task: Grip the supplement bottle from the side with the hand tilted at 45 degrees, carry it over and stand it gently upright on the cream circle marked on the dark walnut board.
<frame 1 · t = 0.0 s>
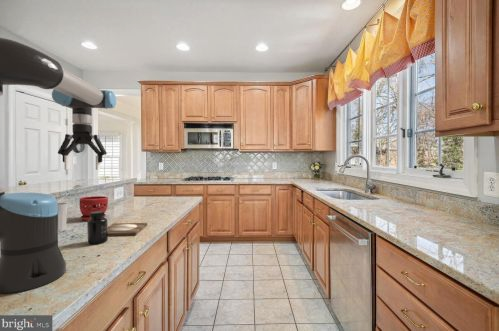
hand: (82, 169, 112), 28 cm above the counter, tool pointing down, fingers open, 13 cm apart
plant pot: (94, 219, 131), on the counter
supplement bottle: (97, 242, 95), on the counter
cup: (57, 230, 111), on the counter
walnut board: (123, 230, 110), on the counter
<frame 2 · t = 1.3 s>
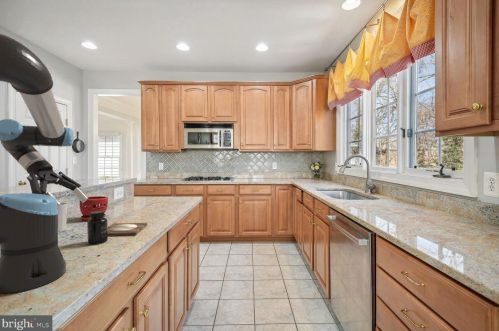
hand: (72, 203, 95), 15 cm above the counter, tool tilted 45°, fingers open, 13 cm apart
nothing on the counter moved.
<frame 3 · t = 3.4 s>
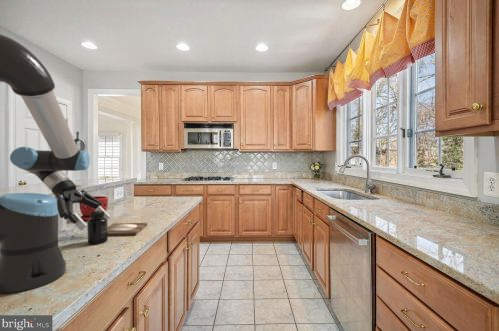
hand: (96, 223, 96), 7 cm above the counter, tool tilted 45°, fingers open, 13 cm apart
nothing on the counter moved.
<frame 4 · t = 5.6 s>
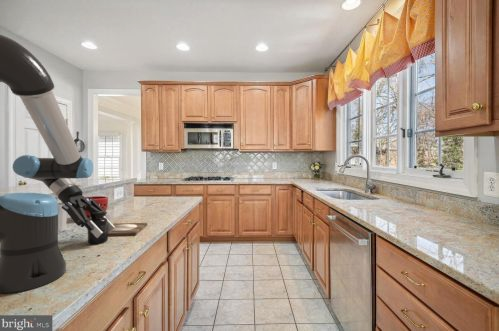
hand: (106, 232, 95), 4 cm above the counter, tool tilted 45°, fingers closed on supplement bottle, 7 cm apart
supplement bottle: (97, 242, 95), on the counter, touching gripper
everything else where it was.
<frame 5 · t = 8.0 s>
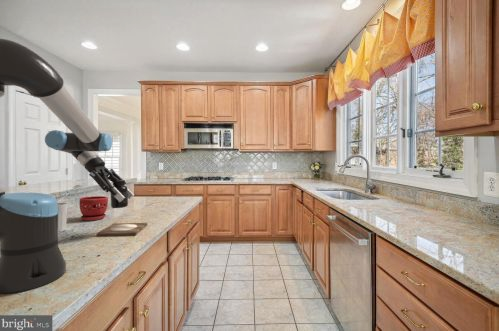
hand: (127, 198, 108), 15 cm above the counter, tool tilted 45°, fingers closed on supplement bottle, 7 cm apart
supplement bottle: (119, 207, 108), point 11 cm above the counter, touching gripper
everything else where it was.
when the fingers open (7 cm above the counter, at t = 10.8 s): supplement bottle drops 1 cm, resting on walnut board.
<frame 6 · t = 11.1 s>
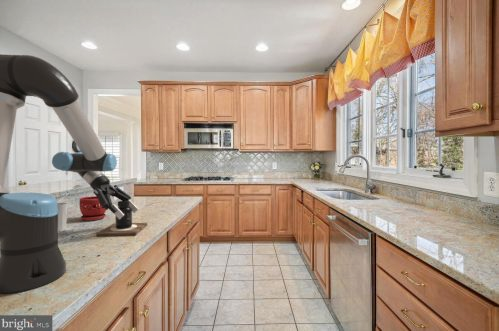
hand: (129, 214, 110), 8 cm above the counter, tool tilted 45°, fingers open, 11 cm apart
supplement bottle: (123, 227, 110), point 1 cm above the counter, touching walnut board
everything else where it was.
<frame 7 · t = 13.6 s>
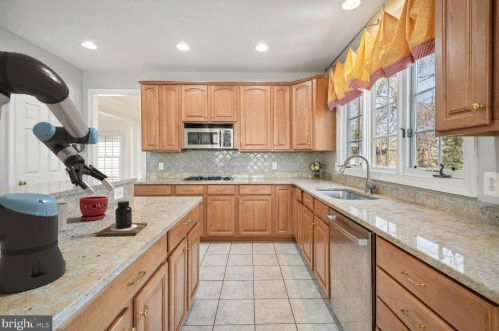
hand: (102, 191, 110), 18 cm above the counter, tool tilted 45°, fingers open, 13 cm apart
nothing on the counter moved.
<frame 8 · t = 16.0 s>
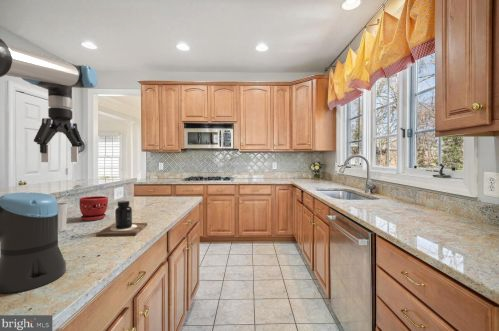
hand: (61, 162, 95), 32 cm above the counter, tool pointing down, fingers open, 13 cm apart
nothing on the counter moved.
at the end: supplement bottle inside the target area on the walnut board (0.1 cm from its centre), point 1.3 cm above the walnut board's base; supplement bottle tilted 0°; the gripper is holding nothing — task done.
